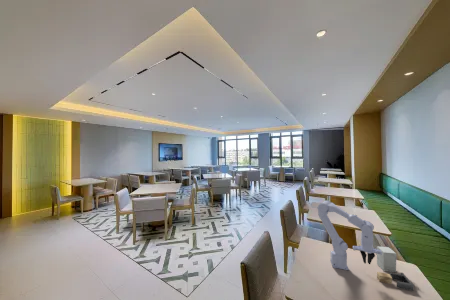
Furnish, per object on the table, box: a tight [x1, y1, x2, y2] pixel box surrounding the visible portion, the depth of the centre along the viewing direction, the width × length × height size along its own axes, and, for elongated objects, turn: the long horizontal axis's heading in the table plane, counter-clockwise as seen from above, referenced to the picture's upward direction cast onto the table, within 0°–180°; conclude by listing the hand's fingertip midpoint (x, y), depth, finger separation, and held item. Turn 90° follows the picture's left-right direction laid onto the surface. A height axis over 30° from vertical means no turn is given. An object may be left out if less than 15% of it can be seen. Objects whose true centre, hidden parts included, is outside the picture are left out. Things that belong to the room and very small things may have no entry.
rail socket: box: [389, 272, 415, 292], centre depth 106 cm, size 7×10×3 cm
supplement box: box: [376, 245, 397, 273], centre depth 118 cm, size 7×7×13 cm
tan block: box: [376, 271, 393, 285], centre depth 108 cm, size 6×3×4 cm, turn 70°
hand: (366, 262), depth 111 cm, fingers closed
